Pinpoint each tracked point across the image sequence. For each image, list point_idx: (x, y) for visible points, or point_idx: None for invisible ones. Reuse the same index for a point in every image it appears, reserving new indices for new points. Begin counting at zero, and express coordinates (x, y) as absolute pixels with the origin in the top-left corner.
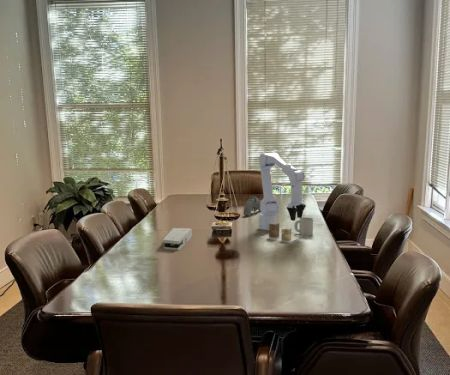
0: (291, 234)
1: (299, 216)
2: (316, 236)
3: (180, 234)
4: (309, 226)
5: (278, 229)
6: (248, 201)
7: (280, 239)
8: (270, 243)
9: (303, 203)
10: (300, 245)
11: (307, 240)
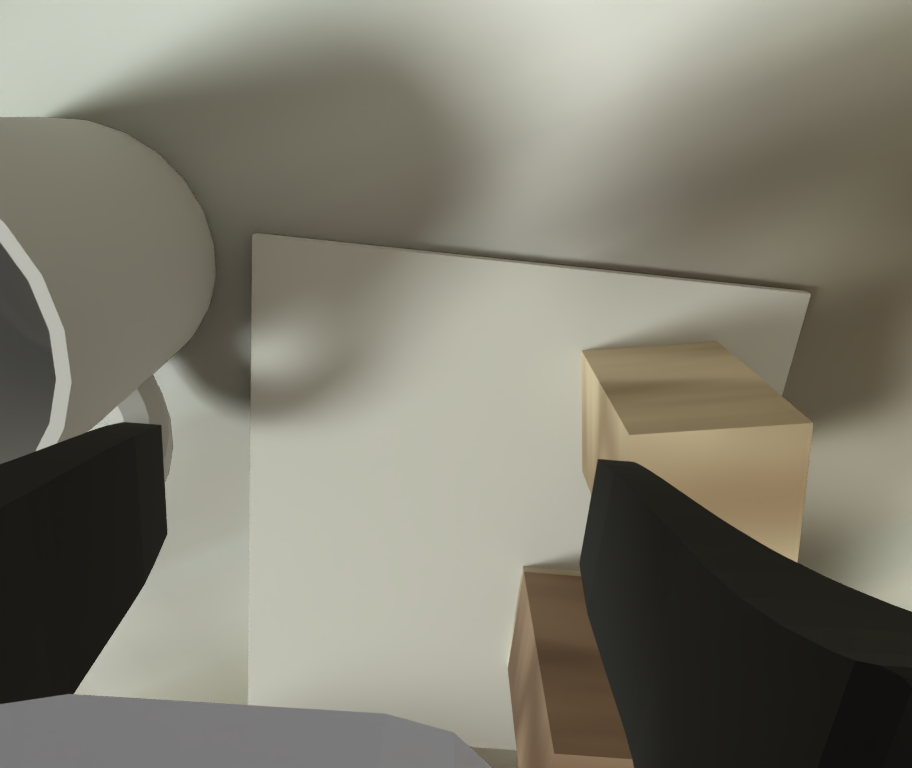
0: (286, 461)
1: (147, 497)
2: (96, 3)
3: None
4: (68, 162)
5: (567, 656)
6: None
7: None
8: (903, 534)
9: (183, 742)
10: (886, 54)
11: (486, 63)
